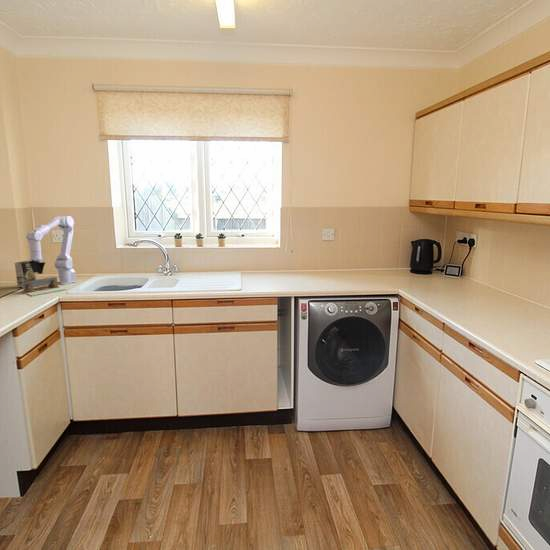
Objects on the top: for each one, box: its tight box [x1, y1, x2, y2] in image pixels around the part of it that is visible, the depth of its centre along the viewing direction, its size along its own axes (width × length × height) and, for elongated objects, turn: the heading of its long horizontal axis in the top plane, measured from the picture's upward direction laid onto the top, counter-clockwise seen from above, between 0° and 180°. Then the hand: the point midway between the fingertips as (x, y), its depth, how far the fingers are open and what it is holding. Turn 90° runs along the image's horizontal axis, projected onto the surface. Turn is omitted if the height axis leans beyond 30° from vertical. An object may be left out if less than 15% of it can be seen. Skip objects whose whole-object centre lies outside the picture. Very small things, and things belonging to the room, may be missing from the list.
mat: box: [26, 286, 67, 297], centre depth 241 cm, size 20×8×1 cm, turn 140°
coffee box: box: [14, 260, 37, 289], centre depth 255 cm, size 9×6×16 cm
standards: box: [22, 279, 60, 294], centre depth 247 cm, size 18×8×5 cm, turn 140°
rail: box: [23, 276, 58, 289], centre depth 246 cm, size 18×4×4 cm, turn 140°
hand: (37, 273), depth 244 cm, fingers open, 7 cm apart
